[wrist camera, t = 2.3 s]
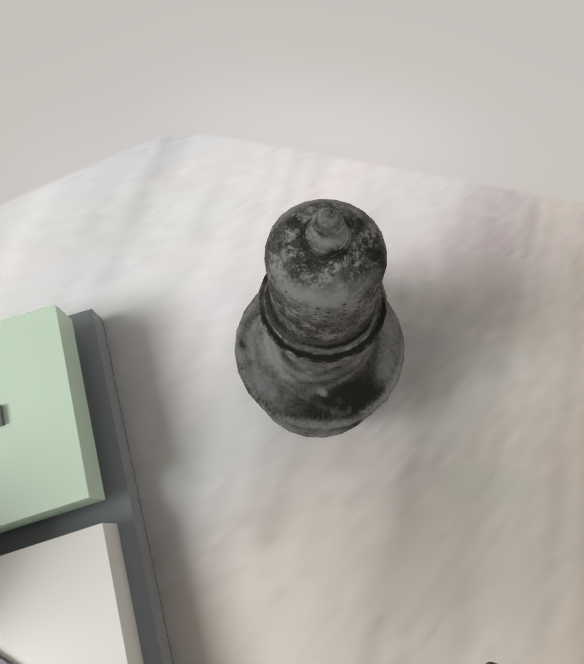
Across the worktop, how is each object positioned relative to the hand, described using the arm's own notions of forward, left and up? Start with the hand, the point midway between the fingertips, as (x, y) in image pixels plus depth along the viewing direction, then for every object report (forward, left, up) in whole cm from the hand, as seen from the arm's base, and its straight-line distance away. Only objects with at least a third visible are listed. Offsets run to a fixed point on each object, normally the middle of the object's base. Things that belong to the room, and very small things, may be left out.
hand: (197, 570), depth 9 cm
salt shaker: (+6, -4, -12) cm, 14 cm away
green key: (+7, +8, -12) cm, 16 cm away
